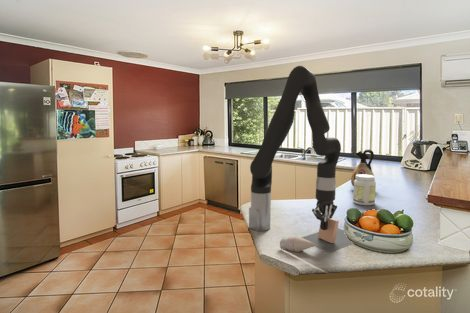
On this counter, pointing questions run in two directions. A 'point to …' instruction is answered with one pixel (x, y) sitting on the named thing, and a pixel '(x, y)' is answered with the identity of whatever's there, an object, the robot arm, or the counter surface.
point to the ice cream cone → (296, 243)
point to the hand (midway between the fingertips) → (324, 229)
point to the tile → (329, 231)
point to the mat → (327, 246)
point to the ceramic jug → (363, 165)
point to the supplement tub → (364, 189)
